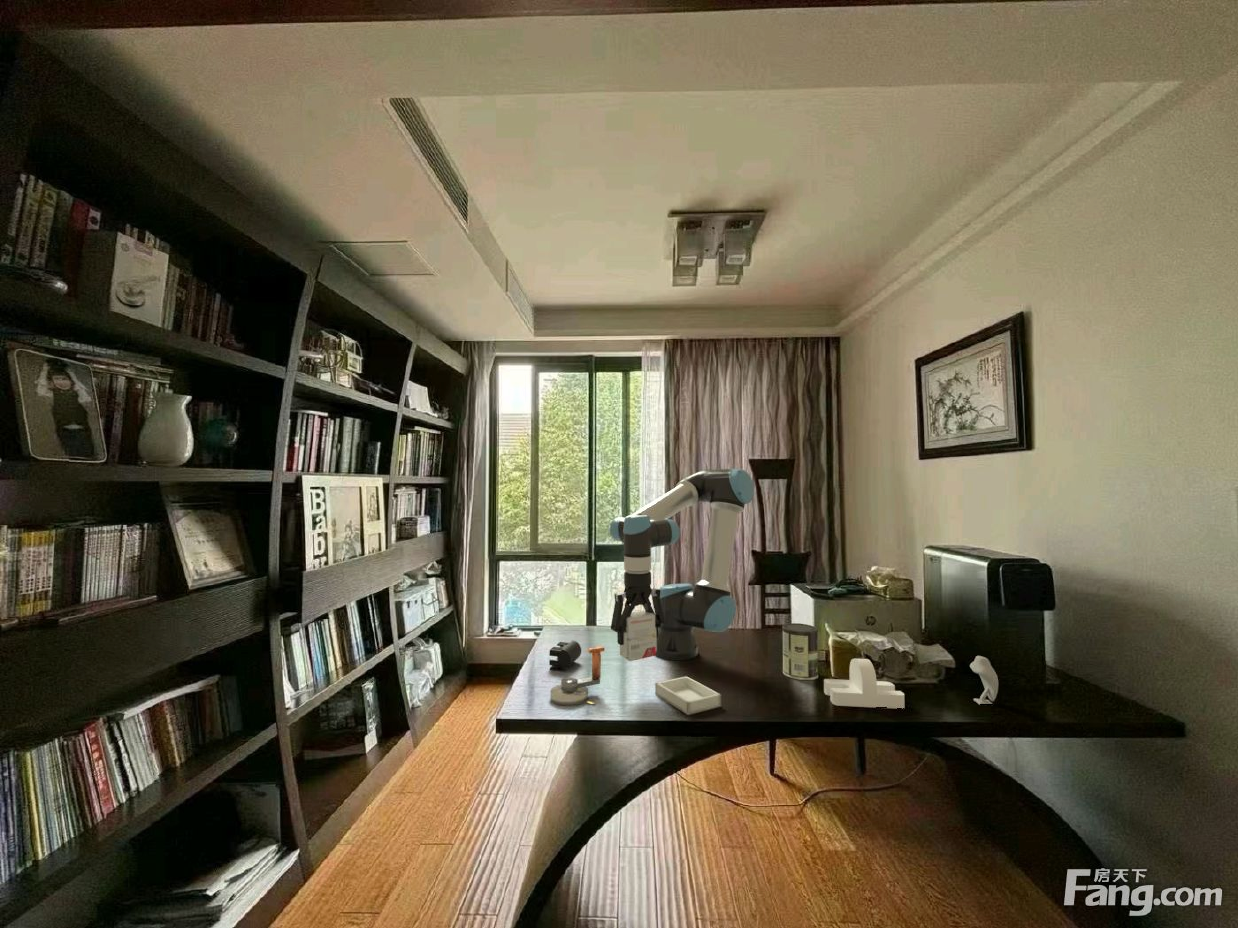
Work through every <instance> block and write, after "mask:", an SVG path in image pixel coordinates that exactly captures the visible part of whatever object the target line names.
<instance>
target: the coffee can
mask: <svg viewBox="0 0 1238 928" xmlns="http://www.w3.org/2000/svg"><path fill="white" fill-rule="evenodd" d="M781 628H782V629H781V630H782V673H783V675H784V676H785V677H788V678H791V679H793V680H798V681H799V680H800V681H813V680H817V679H819V669H818V668H819V667H818V666H819V665H818V664H819V663H818V661H819V660H818V659H819V658H818V654H819V653H818V651H819V649H818V632H819V629H818V628H817V627H816V626H814V625H811V624H805V623H800V622H799V623H798V622H797V623H795V622H793V623H789V622H788V623H784V624H783V625H782V626H781Z"/></svg>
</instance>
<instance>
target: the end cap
mask: <svg viewBox="0 0 1238 928" xmlns="http://www.w3.org/2000/svg"><path fill="white" fill-rule="evenodd" d="M581 655H582V646H581V645H580V643H579V642H578V641H576V640H573V639H572V640H571V641H570V642H563V641H559V642H558V643H557V644H556V646H553V647H551V648H550V649H549V657H556V659H548V660H549V662H548V663H549V664H548V665H549V666H550V667H549V670H550V671H557V672H564V671H566V670H567V669H568V668H570V666H571V665H572V664H573V663H575V662H576V661H577V660H578V659H579V657H580V656H581Z"/></svg>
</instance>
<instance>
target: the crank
mask: <svg viewBox="0 0 1238 928" xmlns="http://www.w3.org/2000/svg"><path fill="white" fill-rule="evenodd" d="M602 652H605V647H604V646H597V647H590V648H588V654H591V676H589V677H584V678H579V679H577V678H575V677H566V678H563V679H561V680H560V681H561V683H560V684H561V690H562V691H565V692H573V691H576V690H577V689H578V688H581V687H589V686H594V685H600V684H601V677H602V676H601V673H602V672H601V664H602V663H601V662H602V660H601V659H602V656H601V655H602Z"/></svg>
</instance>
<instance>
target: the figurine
mask: <svg viewBox="0 0 1238 928" xmlns="http://www.w3.org/2000/svg"><path fill="white" fill-rule="evenodd" d="M969 667H970V669H971V670H972V672H973V673H975V674H978V675H979V677H980V679H981V682H982V685H983V688H984V691H983V692H982V694H981V695H980V697H979V698H973V701H974V702H976V703H977V704H978V705H980V704H993V702H995V700H996V698H997V696H998V695H997V694H998V692H999V679H998V678H999V677H998V675H997V673H996V671H995V669H994V668H993V666H992V665H991V662H990V660H989V659H988V658H987V657H985V656H981V655H977V656H975V658H974V661H972V662H971V663H970V664H969ZM986 697H987V698H988V699H986Z"/></svg>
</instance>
